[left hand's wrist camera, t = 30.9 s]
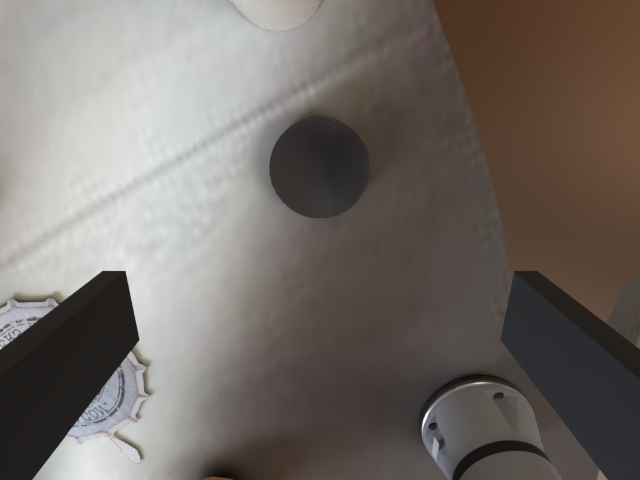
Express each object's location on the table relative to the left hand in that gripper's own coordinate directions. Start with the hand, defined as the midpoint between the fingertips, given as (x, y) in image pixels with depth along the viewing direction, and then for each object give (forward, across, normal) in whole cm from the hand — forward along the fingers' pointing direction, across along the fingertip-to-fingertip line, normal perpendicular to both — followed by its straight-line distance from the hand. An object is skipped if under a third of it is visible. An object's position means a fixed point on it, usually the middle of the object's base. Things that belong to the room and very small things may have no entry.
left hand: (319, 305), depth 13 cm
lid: (+27, 0, 0) cm, 27 cm away
